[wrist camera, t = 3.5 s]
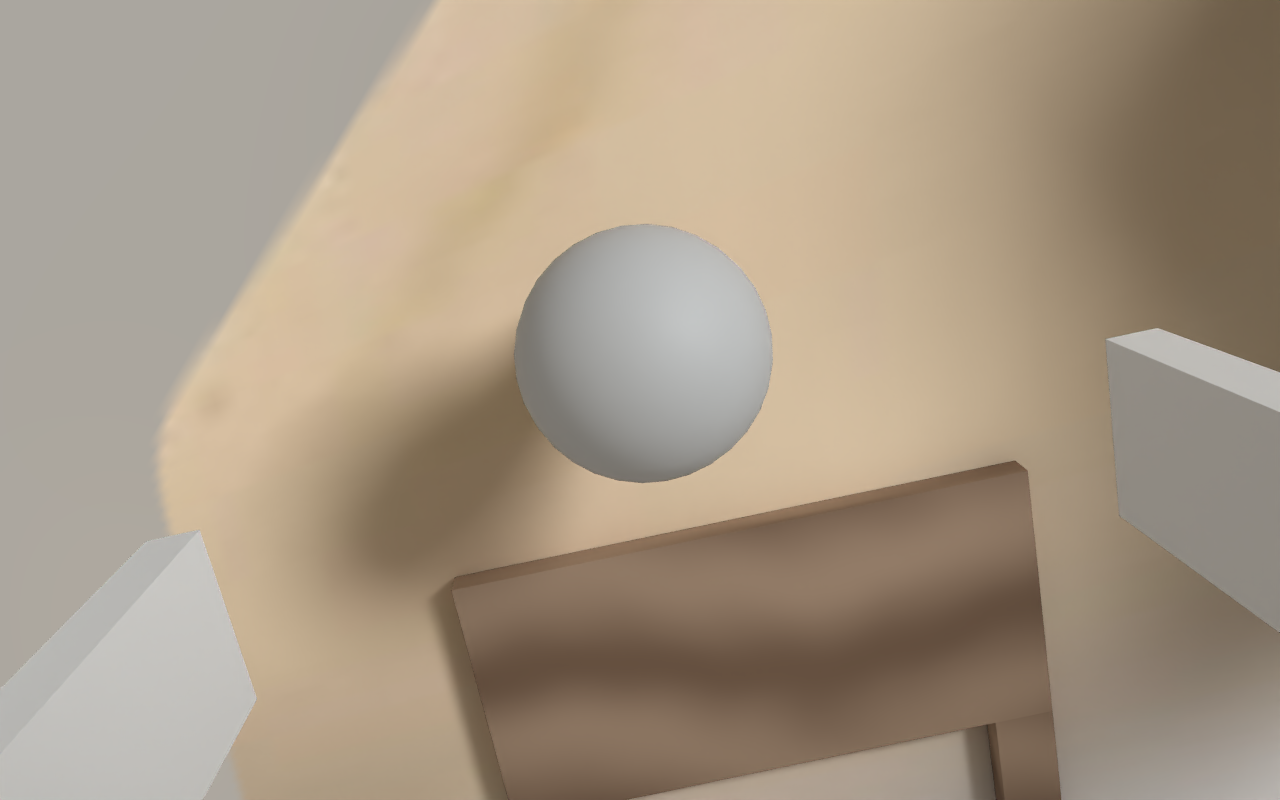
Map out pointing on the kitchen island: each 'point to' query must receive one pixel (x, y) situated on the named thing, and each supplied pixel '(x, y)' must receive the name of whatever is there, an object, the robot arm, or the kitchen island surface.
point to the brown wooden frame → (771, 644)
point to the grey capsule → (643, 353)
